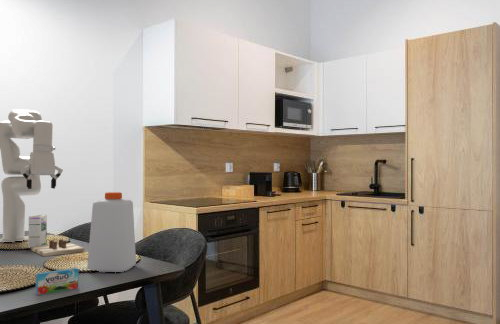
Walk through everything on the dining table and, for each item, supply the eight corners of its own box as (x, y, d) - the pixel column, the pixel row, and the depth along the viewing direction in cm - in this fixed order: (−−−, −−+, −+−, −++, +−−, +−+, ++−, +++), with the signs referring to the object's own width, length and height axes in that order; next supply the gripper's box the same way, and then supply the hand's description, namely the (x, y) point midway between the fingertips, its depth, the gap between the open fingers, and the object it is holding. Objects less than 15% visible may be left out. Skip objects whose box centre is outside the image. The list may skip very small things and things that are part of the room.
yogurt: (37, 295, 130) (37, 274, 130) (35, 294, 131) (35, 273, 131) (78, 288, 138) (78, 268, 138) (76, 287, 139) (76, 267, 139)
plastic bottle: (139, 264, 172) (140, 191, 172) (124, 274, 156) (125, 194, 157) (101, 263, 173) (102, 191, 173) (82, 272, 158) (84, 193, 158)
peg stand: (31, 250, 197) (31, 239, 197) (70, 246, 208) (70, 236, 208) (43, 256, 184) (43, 245, 184) (84, 251, 196) (84, 241, 196)
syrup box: (40, 248, 202) (41, 216, 202) (27, 248, 202) (28, 215, 202) (46, 246, 208) (47, 214, 208) (34, 245, 208) (34, 214, 208)
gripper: (60, 150, 204) (59, 187, 204) (18, 148, 192) (17, 188, 192) (65, 150, 198) (64, 188, 198) (23, 148, 187) (22, 189, 187)
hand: (41, 188), depth 195 cm, fingers open, 9 cm apart
